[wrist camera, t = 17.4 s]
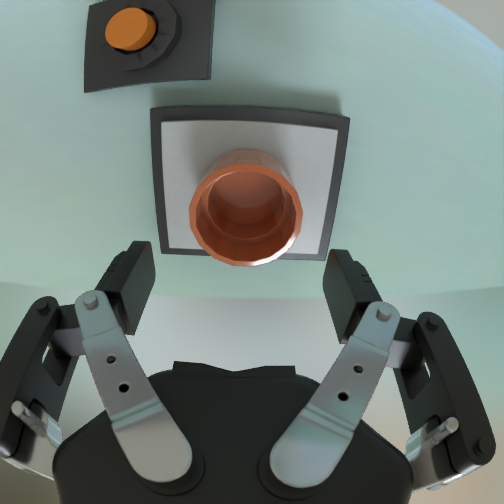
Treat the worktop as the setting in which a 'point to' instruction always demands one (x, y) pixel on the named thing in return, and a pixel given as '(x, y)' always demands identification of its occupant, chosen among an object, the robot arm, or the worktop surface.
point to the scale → (247, 137)
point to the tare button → (130, 29)
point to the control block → (150, 45)
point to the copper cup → (246, 209)
